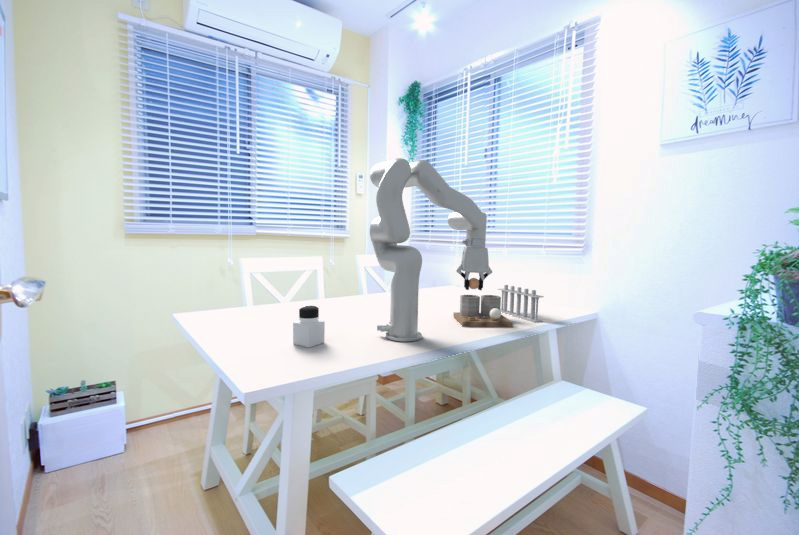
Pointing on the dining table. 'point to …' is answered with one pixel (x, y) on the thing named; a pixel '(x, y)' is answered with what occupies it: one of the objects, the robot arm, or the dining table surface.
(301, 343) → the medicine bottle
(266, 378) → the dining table surface
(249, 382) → the dining table surface
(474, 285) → the ball terracotta
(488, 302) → the stand
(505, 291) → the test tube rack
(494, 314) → the ball cream
